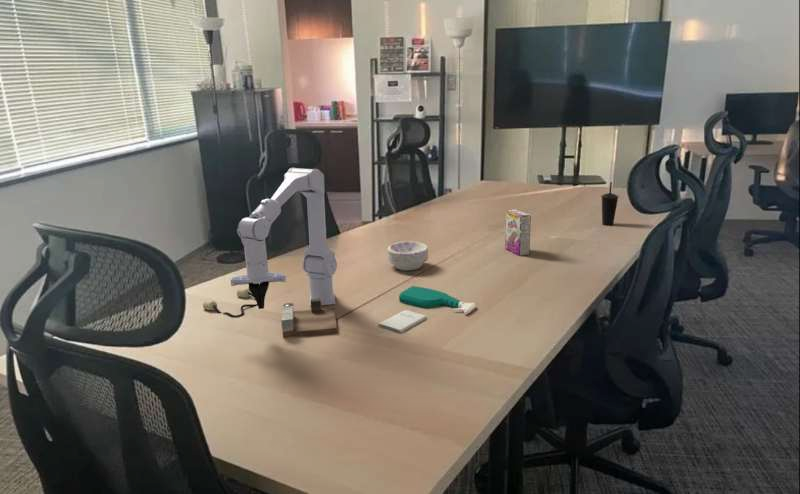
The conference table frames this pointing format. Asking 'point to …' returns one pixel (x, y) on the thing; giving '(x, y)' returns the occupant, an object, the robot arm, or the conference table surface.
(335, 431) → the conference table surface
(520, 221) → the candy bar box
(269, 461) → the conference table surface
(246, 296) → the cable
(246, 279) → the robot arm
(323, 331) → the stool seat
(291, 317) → the folding leg
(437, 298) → the spray bottle
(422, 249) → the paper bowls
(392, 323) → the external hard drive
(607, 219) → the drinking cup
